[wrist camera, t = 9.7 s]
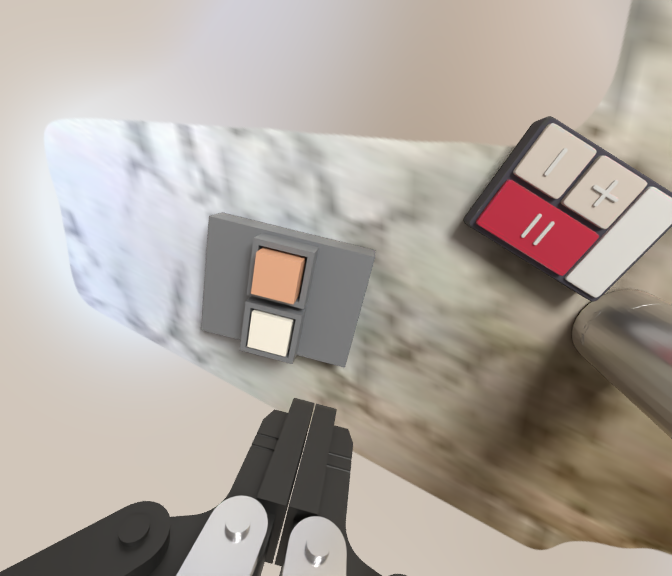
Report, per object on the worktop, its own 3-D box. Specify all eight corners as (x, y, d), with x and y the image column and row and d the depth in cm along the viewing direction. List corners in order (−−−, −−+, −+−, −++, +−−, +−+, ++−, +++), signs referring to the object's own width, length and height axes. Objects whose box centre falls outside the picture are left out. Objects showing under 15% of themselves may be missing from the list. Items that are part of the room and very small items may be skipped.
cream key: (297, 312, 36) (291, 322, 34) (291, 345, 38) (285, 356, 36) (260, 302, 37) (252, 311, 34) (255, 335, 38) (247, 346, 36)
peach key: (306, 256, 33) (301, 263, 30) (299, 295, 34) (293, 304, 32) (264, 246, 33) (256, 252, 31) (259, 285, 35) (250, 293, 32)
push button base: (375, 250, 36) (374, 263, 31) (347, 353, 41) (342, 380, 36) (221, 212, 37) (196, 219, 32) (212, 319, 42) (189, 340, 37)
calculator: (552, 111, 27) (702, 206, 27) (532, 120, 31) (662, 202, 31) (468, 225, 31) (599, 307, 31) (459, 220, 35) (576, 292, 35)
